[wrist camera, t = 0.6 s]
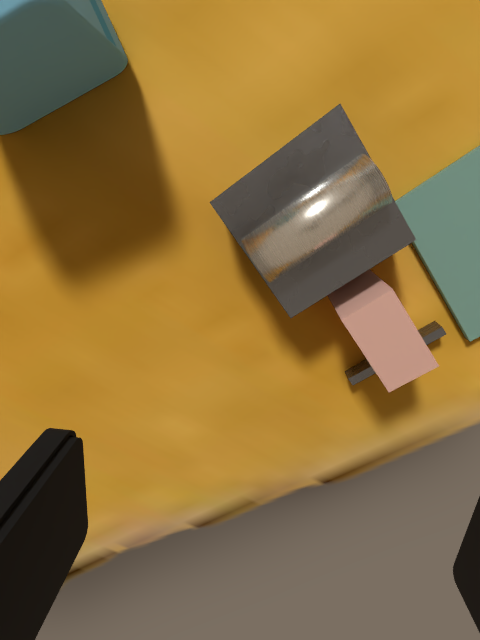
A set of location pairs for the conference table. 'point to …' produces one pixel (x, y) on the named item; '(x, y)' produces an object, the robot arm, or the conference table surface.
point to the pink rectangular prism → (382, 330)
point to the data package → (52, 56)
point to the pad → (450, 236)
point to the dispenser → (317, 218)
